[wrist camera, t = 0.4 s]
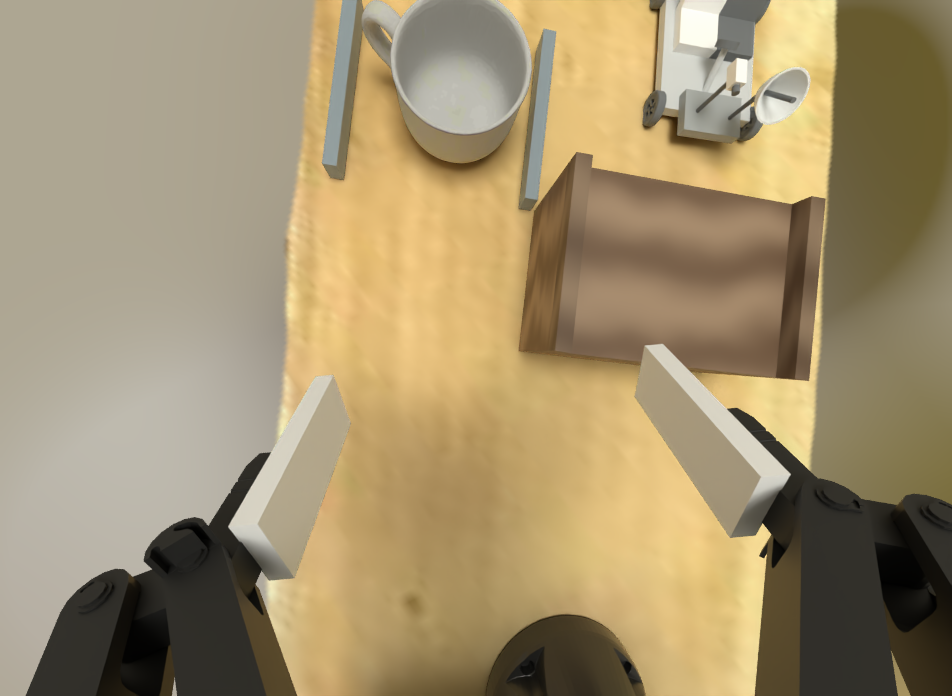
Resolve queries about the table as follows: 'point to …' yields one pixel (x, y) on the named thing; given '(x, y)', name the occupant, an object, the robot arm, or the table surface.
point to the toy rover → (716, 72)
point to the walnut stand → (672, 274)
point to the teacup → (454, 71)
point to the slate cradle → (346, 88)
